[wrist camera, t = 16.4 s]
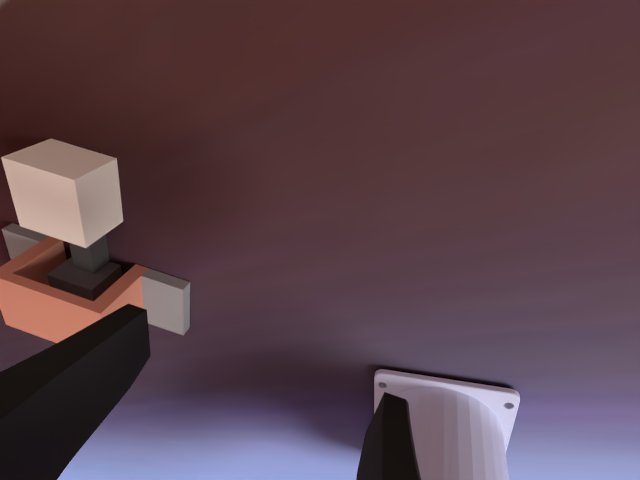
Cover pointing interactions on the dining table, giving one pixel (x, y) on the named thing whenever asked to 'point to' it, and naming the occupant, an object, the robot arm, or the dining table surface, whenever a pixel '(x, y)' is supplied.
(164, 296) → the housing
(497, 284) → the dining table surface
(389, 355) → the dining table surface
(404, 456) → the robot arm
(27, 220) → the plug
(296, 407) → the dining table surface
